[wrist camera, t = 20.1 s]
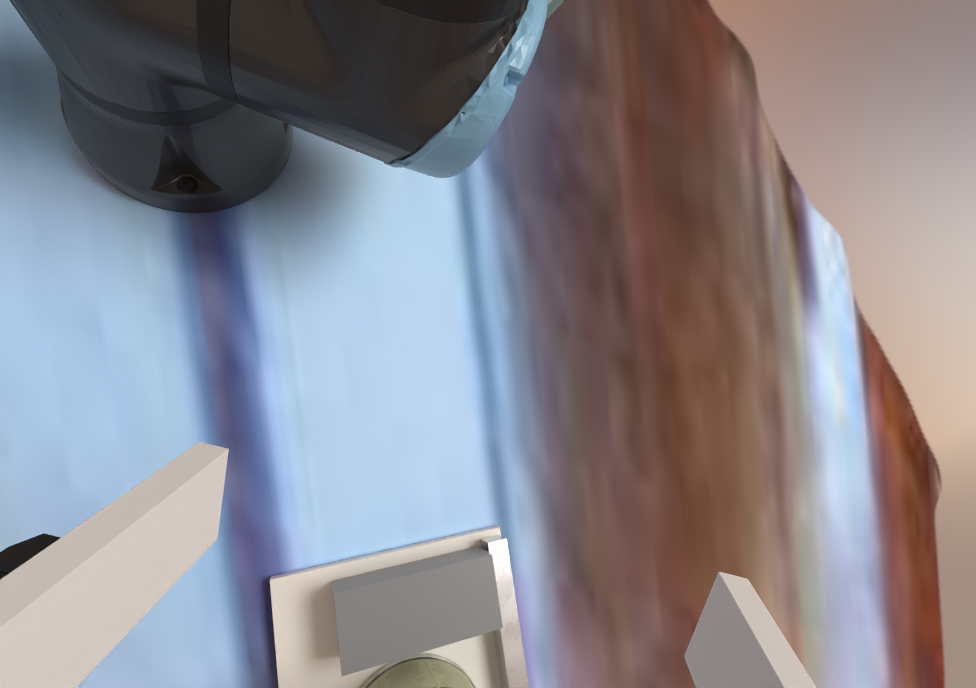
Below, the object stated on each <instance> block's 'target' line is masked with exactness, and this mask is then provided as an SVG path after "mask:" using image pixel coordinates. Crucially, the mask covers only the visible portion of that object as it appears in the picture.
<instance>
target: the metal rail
mask: <svg viewBox="0 0 976 688" xmlns="http://www.w3.org/2000/svg"><path fill="white" fill-rule="evenodd" d="M480 543H481V548H482V549H484V550H486V551H487V552H489V553H491V554H492V556H493V563H494V570H495V577H496V584H497V591H498V598H499V604H500V611H501V618H502V625H503V628H502V629H499V630H495V631H493V634H494V641H495V648H496V655H497V661H498V668H499V675H500V682H501V688H529V685H528V679H527V672H526V665H525V659H524V652H523V645H522V639H521V632H520V625H519V619H518V612H517V606H516V599H515V592H514V586H513V579H512V572H511V566H510V559H509V552H508V546H507V539H506V538H504V537H502V536H500V535H493V536H489V537H485V538H481V539H480Z"/></svg>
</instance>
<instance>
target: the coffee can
mask: <svg viewBox="0 0 976 688" xmlns="http://www.w3.org/2000/svg"><path fill="white" fill-rule="evenodd" d="M361 688H476V687H475V685H474V683H473V682H472V680H471V678H470V677H469V676H468V674H467V673H466V672H465V671H464V670H463V669H462V668H461V667H460V666H459V665H458V664H456V663H455V662H453V661H451V660H450V659H448V658H445V657H443V656H440V655H436V654H429V653H418V654H415V655H412V656H408V657H405V658H402V659H398V660H395V661H392V662H390V663H388V664H386V665H384V666H383V667H382V668H380V669H379V670H378V671H376V672H375V673H374V674H373V675H372V676H371V677H370V678H369V679H368V680H367V681H366V682H365V683H364V684H363V685H362V686H361Z"/></svg>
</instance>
